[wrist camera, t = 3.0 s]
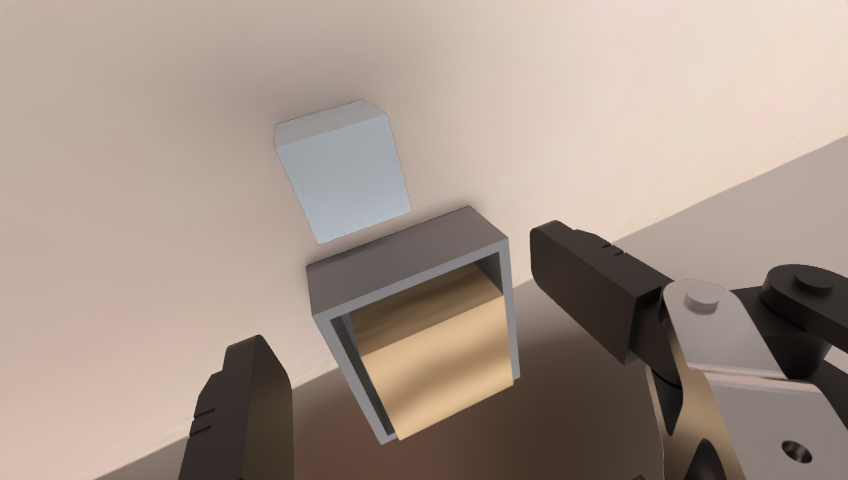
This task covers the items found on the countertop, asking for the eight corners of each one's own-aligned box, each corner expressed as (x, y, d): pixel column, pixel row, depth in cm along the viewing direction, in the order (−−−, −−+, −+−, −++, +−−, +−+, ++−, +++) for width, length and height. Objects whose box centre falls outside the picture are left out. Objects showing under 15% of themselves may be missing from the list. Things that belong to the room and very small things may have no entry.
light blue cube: (275, 124, 21) (274, 148, 16) (362, 99, 22) (386, 114, 17) (310, 204, 24) (318, 244, 19) (385, 179, 25) (411, 211, 20)
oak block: (343, 291, 27) (360, 357, 21) (459, 245, 29) (503, 295, 23) (378, 370, 32) (399, 440, 27) (473, 327, 34) (513, 384, 28)
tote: (305, 266, 26) (311, 316, 21) (469, 205, 28) (508, 237, 24) (366, 389, 34) (380, 445, 29) (488, 334, 37) (520, 376, 32)
